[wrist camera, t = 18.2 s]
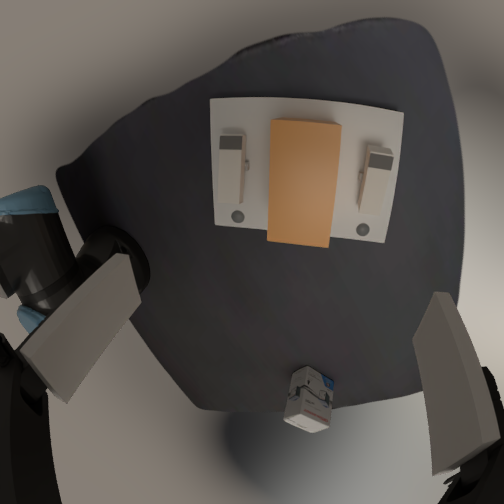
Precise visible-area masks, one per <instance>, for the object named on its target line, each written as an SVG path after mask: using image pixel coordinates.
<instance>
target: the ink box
mask: <svg viewBox="0 0 504 504" xmlns="http://www.w3.org/2000/svg"><path fill="white" fill-rule="evenodd" d="M333 385H334V381H332V380H330V379H329V378H327V377H325V376H324V375H322V374H320V373H319V372H317V371H316V370H314V369H312V368H311V367H309V366H306V367H303V368H301V369H299V370H297V371H296V372H294V373H293V374H292V379H291V385H290V390H289V394H288V399H287V404H286V409H285V414H284V420H285V421H286V422H287V423H290V424H292V425H294V426H296V427H298V428H301V429H303V430H306V431H308V432H311V433H313V432H317V431H320V430H323V429H326V428H329V427H330V419H331V409H332V398H333Z"/></svg>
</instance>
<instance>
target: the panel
mask: <svg viewBox="0 0 504 504" xmlns="http://www.w3.org/2000/svg"><path fill="white" fill-rule="evenodd" d="M280 117H285V118H301V119H313V120H323V121H332V122H336V123H338V124H340V125H342V130H341V144H340V156H339V166H338V176H337V186H336V194H335V203H334V211H333V218H332V225H331V232H330V237H339V238H348V239H356V240H364V241H372V242H380V243H384V241H385V237H386V233H387V228H388V223H389V219H390V214H391V209H392V203H393V198H394V192H395V186H396V180H397V173H398V166H399V158H400V150H401V141H402V130H403V117H404V113H402V112H397V111H392V110H387V109H382V108H376V107H370V106H364V105H358V104H351V103H343V102H335V101H325V100H314V99H299V98H276V97H240V98H216V99H210V125H211V155H212V179H213V199H214V216H215V225H221V226H233V227H243V228H254V229H264V230H268V201H269V167H270V124H271V119H276V118H280ZM220 134H243V135H245V136H246V152H245V171H244V192H243V203H240V204H232V203H217V201H218V173H219V151H220V149H219V143H220ZM368 145H373V146H379V147H385V148H390V149H391V151H392V153H393V154H394V159H393V164H392V169H391V171H390V176H389V180H388V184H387V189H386V193H385V197H384V201H383V204H382V208H381V212H380V216H376V215H369V214H361V213H359V211H358V205H357V204H358V199H359V194H360V189H361V184H362V178H363V173H364V167H365V161H366V154H367V148H368Z"/></svg>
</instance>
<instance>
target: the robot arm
mask: <svg viewBox="0 0 504 504" xmlns="http://www.w3.org/2000/svg"><path fill="white" fill-rule="evenodd" d="M58 212H59V210H58V209H57V208H56V206H55V203H54V200H53V198H52V195H51V192H50V190H49V189H48V188H47V187H45V186H43V185H38V186H34V187H31V188H28V189H25V190H22V191H19V192H16V193H13V194H11V195H8V196H5V197H3V198H0V297H2V298H6V299H7V298H9V297H10V296H11V295H13V294H14V293H16V294H17V295H18V297H19V299H20V301H21V303H22V305H20V306H19V308H18V310H17V316H18V318H19V321H20V322H21V324H22V325H23V327H24V328H25V329H26V331H27V332H28V333H29V335H28V336H27V338H26V339H25V340H24V341H23V342H22V343H21V345H20V346H19V347H18V348H17V349H16V350H13V348H12V347H11V345H10V344H9V342H8V341H7V339H6V338H5V336H4V334H2V333H0V504H62V502H61V498H60V494H59V489H58V484H57V480H56V474H55V468H54V462H53V456H52V448H51V439H50V427H49V410H48V395H47V392H46V389H47V388H48V389H49V390H50V391H51V392H52V393H53V394H54V396H56V397H57V398H59V399H60V400H62V401H63V402H65V403H66V404H67V403H68V401H69V400H70V398H71V397H72V396H73V394H74V393H75V391H76V389H77V388H78V387H79V385H80V384H81V382H82V381H83V380H84V378H85V377H86V375H87V374H88V372H89V371H90V370H91V368H92V367H93V366H94V364H95V363H96V361H97V360H98V358H99V357H100V356H101V354H102V353H103V352H104V350H105V349H106V348H107V346H108V345H109V344H110V342H111V341H112V339H113V338H114V337H115V335H116V334H117V333H118V332H119V330H120V329H121V328H122V326H123V325H124V324H125V323H126V321H127V320H128V319H129V317H130V316H131V315H132V314H133V312H134V311H135V310H136V308H137V307H138V306H139V305H140V303H141V299H140V296H139V295H140V294H141V293H142V291H143V290H144V289H145V288H146V287H147V285H148V283H149V279H150V270H149V265H148V262H147V259H146V257H145V255H144V253H143V251H142V250H141V248H140V247H139V245H138V244H137V243H136V242H135V241H134V240H133V239H132V238H131V237H130V236H129V235H128V234H127V233H125V232H124V231H122V230H120V229H118V228H115V227H111V226H104V227H101V228H99V229H97V230H96V231H94V232H93V233H92V234H90V235H89V236H88V238H87V239H86V241H85V243H84V245H83V246H82V248H81V250H80V251H79V253H78V254H77V256H76V258H75V256H74V254H73V251H72V249H71V246H70V244H69V241H68V239H67V236H66V233H65V231H64V228H63V225H62V223H61V220H60V217H59V214H58ZM412 341H413V345H414V349H415V353H416V358H417V362H418V367H419V371H420V376H421V381H422V387H423V392H424V398H425V404H426V410H427V418H428V425H429V434H430V444H431V456H432V457H431V458H432V476H435V475H440V474H444V473H449V472H451V471H453V470H455V469H456V468H458V467H459V466H460V472H459V473H457V474H455V475H453V476H452V477H450V478H448V479H447V480H446V481H445V482H444V483H443V484H447V483H449V482H451V481H452V483H451V484H450V485H448V487H449V488H448V489H447V491H446V492H445V494H444V495H443V497H442V498H441V500H440V501H439V503H438V504H504V408H503V405H502V401H500V398H501V397H500V394H499V391H497V389H498V388H497V385H496V382H495V379H494V376H493V375H492V374H491V372H490V371H489V369H488V368H487V367H481V365H480V362H479V359H478V357H477V354H476V352H475V349H474V346H473V344H472V341H471V339H470V337H469V334H468V332H467V330H466V327H465V325H464V323H463V321H462V318H461V316H460V314H459V312H458V310H457V308H456V306H455V304H454V302H453V300H452V298H451V296H450V294H449V293H445V292H434V294H433V296H432V299H431V301H430V303H429V306H428V308H427V310H426V312H425V314H424V316H423V319H422V321H421V323H420V325H419V327H418V329H417V331H416V333H415V335H414V337H413V339H412Z"/></svg>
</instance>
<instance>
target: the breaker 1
mask: <svg viewBox="0 0 504 504" xmlns="http://www.w3.org/2000/svg"><path fill="white" fill-rule="evenodd" d="M219 149H220V151H219V173H218V201H217V203H232V204H240V203H243V192H244V171H245V152H246V136H245V135H243V134H220V143H219Z"/></svg>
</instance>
